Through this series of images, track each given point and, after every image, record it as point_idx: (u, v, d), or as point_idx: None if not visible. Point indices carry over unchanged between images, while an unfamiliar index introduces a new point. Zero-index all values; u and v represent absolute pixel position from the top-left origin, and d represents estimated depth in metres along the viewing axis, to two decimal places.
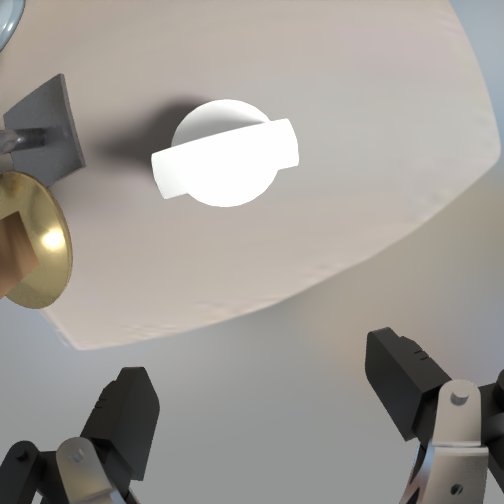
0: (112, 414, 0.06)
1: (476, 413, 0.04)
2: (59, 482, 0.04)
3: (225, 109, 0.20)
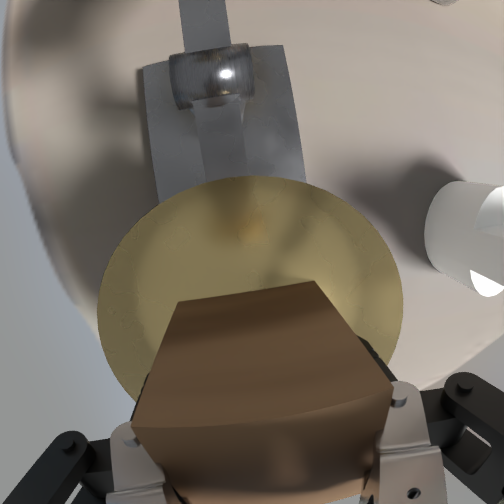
0: None
1: (411, 417, 0.05)
2: None
3: None
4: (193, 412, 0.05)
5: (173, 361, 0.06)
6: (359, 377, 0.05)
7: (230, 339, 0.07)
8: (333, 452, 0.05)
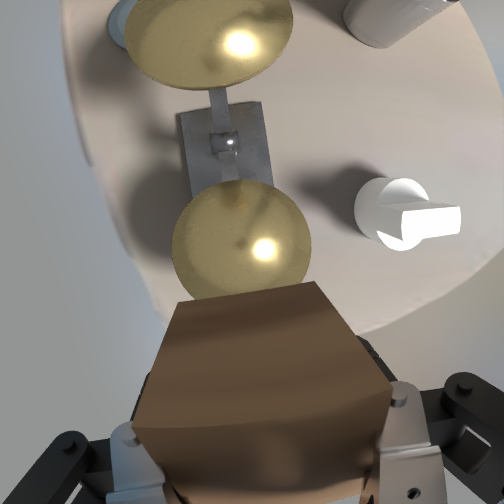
0: None
1: (411, 417, 0.05)
2: None
3: (408, 186, 0.30)
4: (194, 412, 0.05)
5: (173, 362, 0.06)
6: (359, 378, 0.05)
7: (230, 340, 0.07)
8: (332, 452, 0.05)
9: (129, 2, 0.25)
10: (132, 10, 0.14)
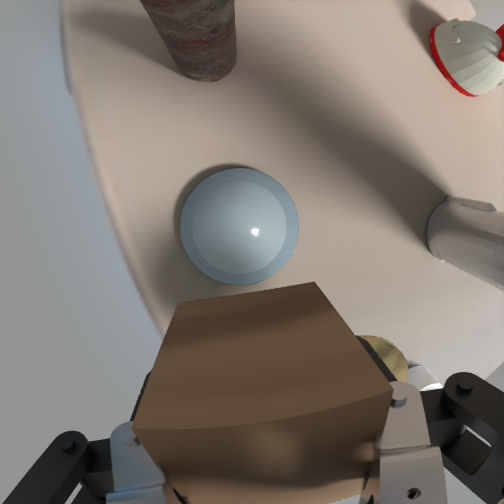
0: None
1: (411, 417, 0.05)
2: None
3: (431, 387, 0.37)
4: (194, 414, 0.05)
5: (174, 363, 0.06)
6: (359, 379, 0.05)
7: (230, 340, 0.07)
8: (333, 453, 0.05)
9: (203, 203, 0.32)
10: None
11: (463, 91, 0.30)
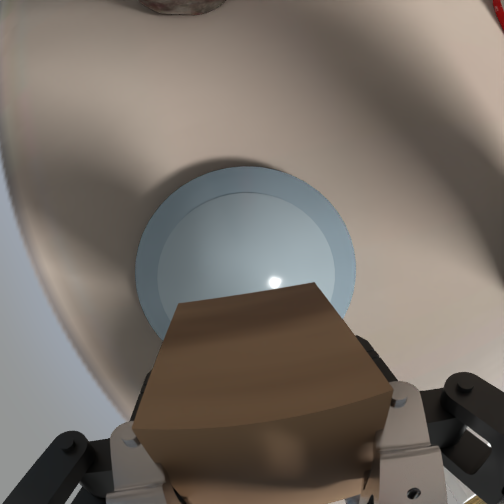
0: None
1: (411, 417, 0.05)
2: None
3: None
4: (194, 414, 0.05)
5: (174, 363, 0.06)
6: (359, 379, 0.05)
7: (230, 341, 0.07)
8: (333, 453, 0.05)
9: (175, 237, 0.16)
10: None
11: None
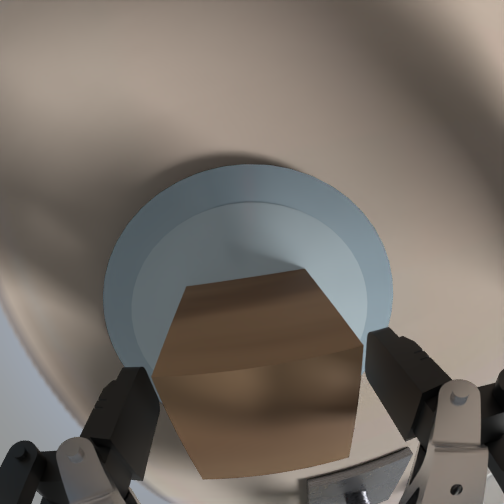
0: (112, 414, 0.06)
1: (476, 413, 0.04)
2: (59, 482, 0.04)
3: None
4: (203, 364, 0.06)
5: (185, 329, 0.08)
6: (335, 338, 0.07)
7: (232, 312, 0.09)
8: (316, 405, 0.06)
9: (152, 265, 0.11)
10: None
11: None
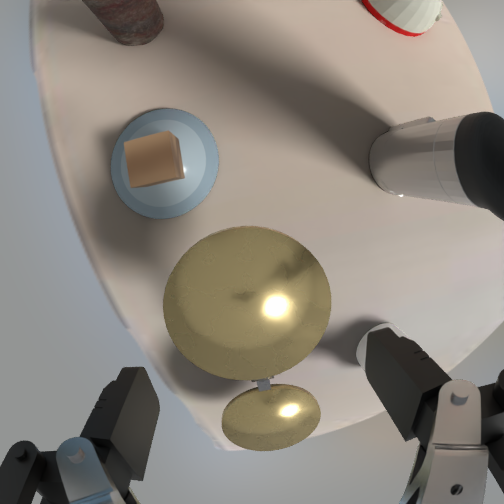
0: (112, 414, 0.06)
1: (476, 413, 0.04)
2: (59, 482, 0.04)
3: None
4: (135, 139, 0.26)
5: None
6: None
7: None
8: (159, 148, 0.26)
9: None
10: (165, 296, 0.20)
11: (399, 30, 0.30)
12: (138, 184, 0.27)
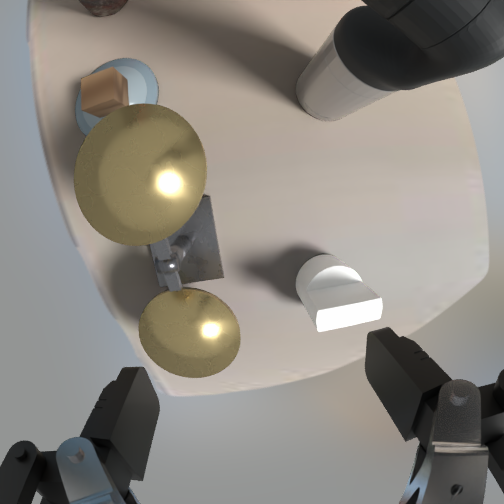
0: (112, 414, 0.06)
1: (476, 413, 0.04)
2: (59, 482, 0.04)
3: (340, 272, 0.38)
4: None
5: None
6: None
7: None
8: (105, 79, 0.28)
9: None
10: (76, 163, 0.22)
11: None
12: (87, 107, 0.28)
